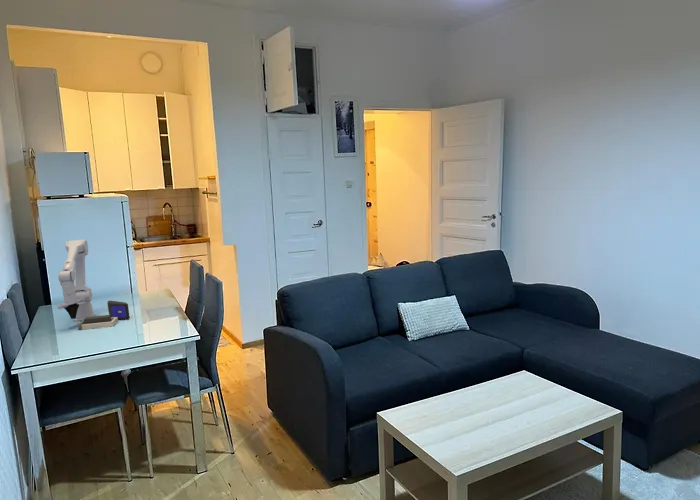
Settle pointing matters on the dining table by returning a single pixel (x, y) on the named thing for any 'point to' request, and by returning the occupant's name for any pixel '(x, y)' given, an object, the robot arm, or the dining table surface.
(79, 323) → the sage green post
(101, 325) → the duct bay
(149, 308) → the dining table surface
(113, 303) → the leaning round-cornered charcoal block
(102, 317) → the dark brown rectangular block
